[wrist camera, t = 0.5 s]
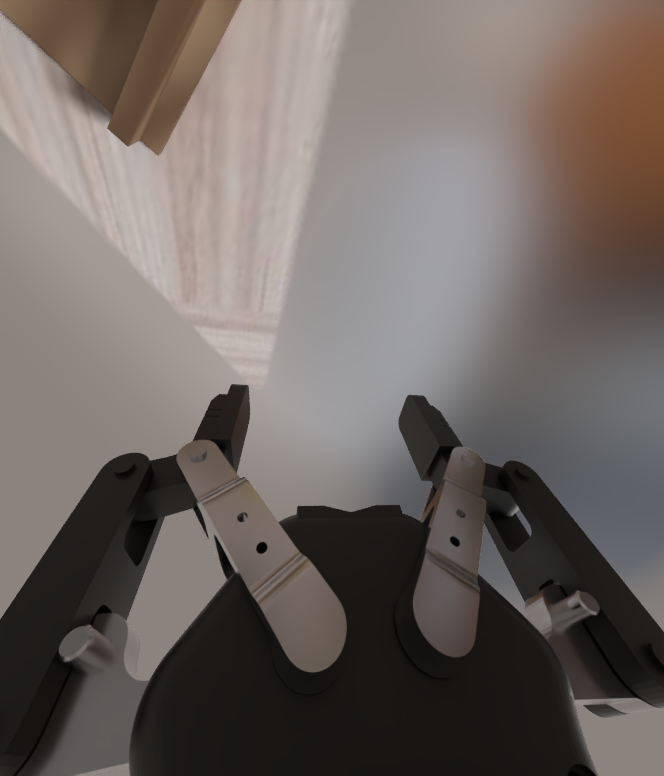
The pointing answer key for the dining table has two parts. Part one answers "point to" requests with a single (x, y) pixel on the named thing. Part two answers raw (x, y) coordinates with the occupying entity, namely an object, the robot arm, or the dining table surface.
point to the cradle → (130, 54)
